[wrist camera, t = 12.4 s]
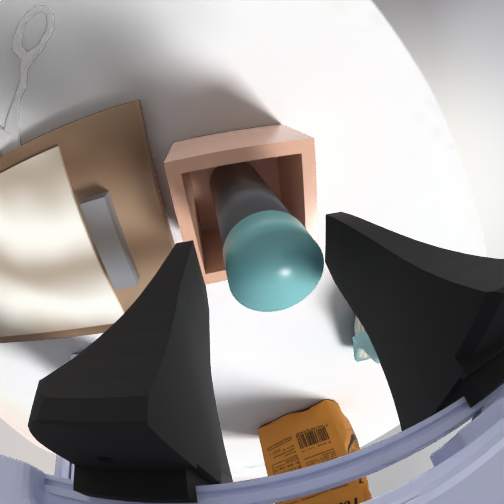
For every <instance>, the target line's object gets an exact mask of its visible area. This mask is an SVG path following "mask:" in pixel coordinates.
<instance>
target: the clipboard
mask: <svg viewBox="0 0 504 504" xmlns="http://www.w3.org/2000/svg"><path fill="white" fill-rule="evenodd" d="M174 246H175V244H174V240H173V237H172V233H171V230H170V226H169V223H168V219H167V216H166V212H165V208H164V205H163V201H162V197H161V193H160V189H159V185H158V181H157V177H156V173H155V169H154V165H153V161H152V157H151V152H150V148H149V143H148V139H147V134H146V130H145V125H144V120H143V115H142V110H141V105H140V100H136V101H132V102H129V103H126V104H122V105H119V106H116V107H113V108H110V109H107V110H104V111H101V112H98V113H95V114H92V115H90V116H87V117H84V118H82V119H79V120H77V121H74V122H72V123H69V124H67V125H64V126H62V127H59V128H57V129H55V130H53V131H50V132H48V133H46V134H44V135H42V136H39V137H37V138H35V139H33V140H31V141H29V142H27V143H25V144H23V145H21V146H19V147H17V148H16V149H14V150H12V151H10V152H8V153H6V154H5V155H3V156H1V157H0V343H8V342H22V341H34V340H45V339H55V338H64V337H73V336H82V335H90V334H98V333H104V332H105V331H106V330H107V329H109V328H110V327H111V326H112V325H113V324H114V323H115V322H116V321H117V320H118V319H119V318H120V317H121V316H122V315H123V314H124V313H125V312H126V311H127V309H128V308H129V307H130V306H131V305H132V304H133V303H134V302H135V300H136V299H137V298H138V297H139V296H140V294H141V293H142V292H143V290H144V289H145V288H146V286H147V285H148V284H149V282H150V281H151V280H152V278H153V277H154V276H155V274H156V273H157V271H158V270H159V268H160V267H161V265H162V264H163V262H164V261H165V259H166V258H167V256H168V255H169V253H170V252H171V250H172V249H173V247H174Z"/></svg>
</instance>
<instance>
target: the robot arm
mask: <svg viewBox="0 0 504 504" xmlns="http://www.w3.org/2000/svg"><path fill="white" fill-rule="evenodd" d="M325 262H326V265H327V267H328V269H329V271H330V273H331V275H332V277H333V280H334V282H335V283H336V285H337V287H338V288H339V290H340V291H341V293H342V294H343V296H344V298H345V299H346V301H347V302H348V304H349V305H350V307H351V308H352V310H353V311H354V313H355V315H356V316H357V318H358V319H359V321H360V322H361V324H362V326H363V327H364V329H365V331H366V333H367V334H368V336H369V339H370V341H371V343H372V345H373V347H374V349H375V352H376V354H377V356H378V359H379V361H380V364H381V366H382V368H383V371H384V374H385V376H386V379H387V382H388V385H389V387H390V390H391V393H392V396H393V399H394V403H395V406H396V410H397V413H398V417H399V421H400V425H401V429H402V432H400V433H398V434H396V435H393V436H391V437H389V438H387V439H385V440H382V441H380V442H378V443H375V444H373V445H371V446H368V447H366V448H363V449H360V450H358V451H355V452H353V453H350V454H347V455H344V456H341V457H338V458H335V459H332V460H329V461H326V462H323V463H320V464H316V465H313V466H309V467H306V468H302V469H298V470H294V471H290V472H286V473H282V474H277V475H272V476H268V477H262V478H257V479H251V480H245V481H239V482H233V480H232V476H231V472H230V468H229V464H228V460H227V456H226V452H225V447H224V443H223V438H222V433H221V429H220V424H219V418H218V413H217V407H216V402H215V396H214V390H213V383H212V377H211V366H210V333H209V307H208V299H207V292H206V286H205V282H204V279H203V275H202V271H201V268H200V264H199V260H198V257H197V253H196V249H195V245H194V241H193V240H191V241H186V242H181V243H177V244H175V246H174V247H173V249H172V250H171V252H170V253H169V255H168V256H167V258H166V259H165V261H164V262H163V264H162V265H161V267H160V268H159V270H158V271H157V273H156V274H155V276H154V277H153V278H152V280H151V281H150V282H149V284H148V285H147V286H146V288H145V289H144V290H143V292H142V293H141V294H140V296H139V297H138V298H137V299H136V300H135V302H134V303H133V304H132V305H131V306H130V307H129V308H128V309H127V311H126V312H125V313H124V314H123V315H122V316H121V317H120V318H119V319H118V320H117V321H116V322H115V323H114V324H113V325H112V326H111V327H110V328H109V329H107V330H106V331H105V332H104V333H103V334H102V335H101V336H100V337H99V338H98V339H97V340H96V341H94V342H93V343H92V344H91V345H90V346H88V347H87V348H86V349H85V350H83V351H82V352H81V353H79V354H72V355H71V357H70V361H69V362H67V363H66V364H64V365H63V366H61V367H60V368H58V369H57V370H55V371H54V372H52V373H51V374H49V375H48V376H46V377H45V378H43V379H41V380H40V381H39V384H38V387H37V391H36V394H35V398H34V402H33V406H32V410H31V414H30V418H29V422H28V427H29V430H30V432H31V434H32V435H33V436H34V437H35V439H36V440H37V441H39V442H40V443H41V444H42V445H44V446H45V447H47V448H48V449H50V450H51V451H53V452H54V453H56V454H57V456H56V465H55V474H54V476H53V475H49V474H45V473H43V472H42V471H41V470H39V469H38V468H36V467H34V466H32V465H30V464H28V463H25V462H23V461H20V460H17V459H13V458H10V457H7V456H4V455H0V504H274V503H279V502H283V501H288V500H292V499H296V498H300V497H304V496H308V495H311V494H315V493H318V492H322V491H325V490H328V489H331V488H335V487H338V486H340V485H343V484H346V483H349V482H352V481H354V480H357V479H360V478H362V477H365V476H367V475H370V474H372V473H374V472H377V471H379V470H381V469H384V468H386V467H388V466H390V465H392V464H395V463H397V462H399V461H401V460H403V459H405V458H407V457H409V456H411V455H412V454H414V453H416V452H418V451H420V450H422V449H424V448H425V447H427V446H429V445H430V444H432V443H434V442H436V441H437V440H439V439H441V438H442V437H444V436H446V435H447V434H449V433H450V432H452V431H453V430H455V429H457V428H458V427H460V426H461V425H462V424H464V423H465V422H467V421H468V420H470V419H471V418H472V417H473V418H472V421H471V422H470V423H469V424H468V425H466V426H465V427H464V428H462V429H461V430H460V431H459V432H458V433H457V434H456V435H455V436H454V437H453V438H452V439H451V440H449V441H448V442H447V443H446V444H445V445H443V446H442V447H441V448H440V449H438V450H437V451H435V452H434V453H433V454H431V456H430V458H431V460H432V462H433V464H434V467H433V468H432V469H430V470H428V471H427V472H425V473H423V474H421V475H420V476H418V477H416V478H414V479H412V480H410V481H409V482H406V483H405V484H403V485H401V486H399V487H397V488H394V489H392V490H390V491H388V492H386V493H384V494H382V495H379V496H377V497H375V498H372V499H370V500H367V501H365V502H362V503H360V504H504V259H495V258H487V257H480V256H474V255H469V254H464V253H460V252H455V251H451V250H447V249H443V248H439V247H436V246H433V245H429V244H426V243H423V242H420V241H417V240H414V239H411V238H408V237H406V236H403V235H400V234H398V233H395V232H393V231H390V230H388V229H385V228H383V227H380V226H378V225H375V224H373V223H371V222H368V221H366V220H363V219H361V218H358V217H356V216H353V215H350V214H347V213H343V212H338V213H332V214H327V215H326V250H325Z"/></svg>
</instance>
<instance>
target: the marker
mask: <svg viewBox="0 0 504 504" xmlns="http://www.w3.org/2000/svg"><path fill="white" fill-rule="evenodd" d="M210 190H211V194H212V199H213V204H214V208H215V213H216V217H217V221H218V226H219V230H220V235H221V239H222V243H223V261H224V265H225V270H226V274H227V279H228V283H229V287H230V290H231V292H232V294H233V296H234V297H235V299H236V300H237V301H238V302H239V303H241V304H242V305H243V306H245V307H247V308H250V309H252V310H256V311H263V312H271V311H278V310H283V309H286V308H289V307H291V306H293V305H295V304H297V303H299V302H300V301H302V300H303V299H304V298H306V297H307V296H308V295H309V294H310V293H311V292H312V291H313V290H314V288H315V287H316V285H317V284H318V282H319V280H320V278H321V276H322V272H323V267H324V259H323V254H322V251H321V249H320V247H319V246H318V244H317V243H316V242H315V240H314V239H313V238H312V236H311V235H310V234H309V233H308V231H307V230H306V229H305V227H304V226H303V225H302V224H301V223H300V221H299V220H298V219H296V218H295V217H294V216H292V215H291V214H290V213H289V212H288V210H287V209H286V208H285V206H284V205H283V204H282V203H281V201H280V200H279V199H278V198H277V196H276V195H275V194H274V193H273V191H272V190H271V189H270V188H269V186H268V185H267V184H266V183H265V181H264V180H263V179H262V178H261V176H260V175H259V174H258V173H257V172H256V170H255V169H254V168H253V167H252V166H251V165H250V164H249V163H247V162H239V163H233V164H228V165H222V166H217V167H216V168H215V170H214V171H213V173H212V175H211V178H210Z"/></svg>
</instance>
